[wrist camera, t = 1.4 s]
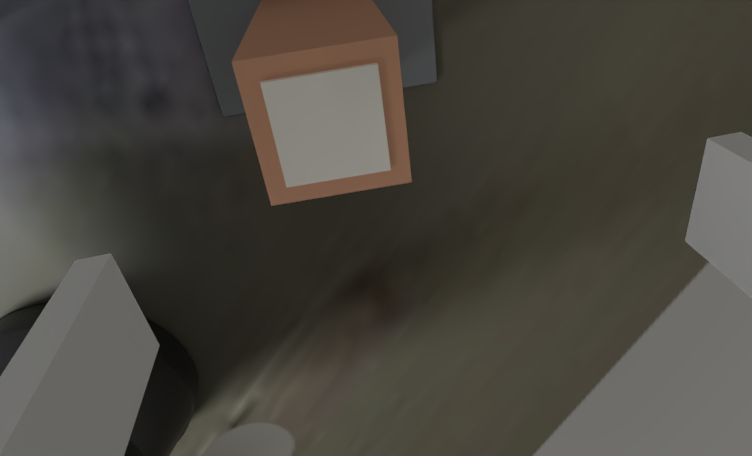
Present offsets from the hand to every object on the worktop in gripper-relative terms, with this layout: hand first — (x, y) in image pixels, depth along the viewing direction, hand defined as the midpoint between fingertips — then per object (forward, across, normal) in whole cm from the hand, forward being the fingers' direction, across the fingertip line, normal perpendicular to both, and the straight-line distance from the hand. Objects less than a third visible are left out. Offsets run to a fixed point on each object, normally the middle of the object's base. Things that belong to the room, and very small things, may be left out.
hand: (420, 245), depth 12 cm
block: (+18, -2, +1) cm, 19 cm away
